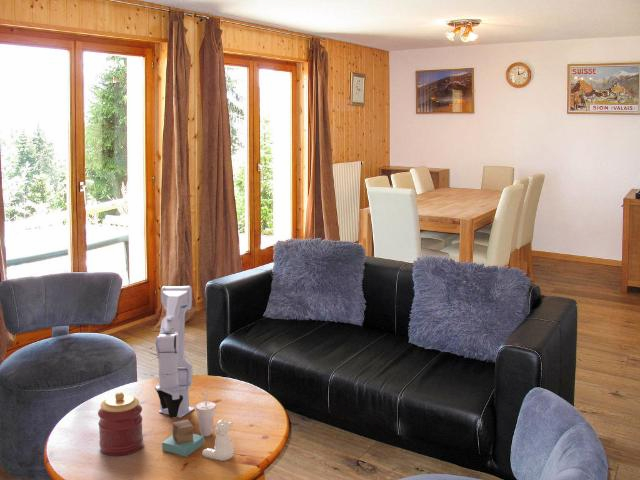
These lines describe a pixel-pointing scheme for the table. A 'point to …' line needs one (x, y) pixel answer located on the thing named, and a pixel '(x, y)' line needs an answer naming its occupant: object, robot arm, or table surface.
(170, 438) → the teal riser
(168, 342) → the robot arm
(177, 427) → the walnut block
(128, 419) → the canister
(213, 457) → the seated beast figurine
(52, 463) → the table surface
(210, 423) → the smoothie
